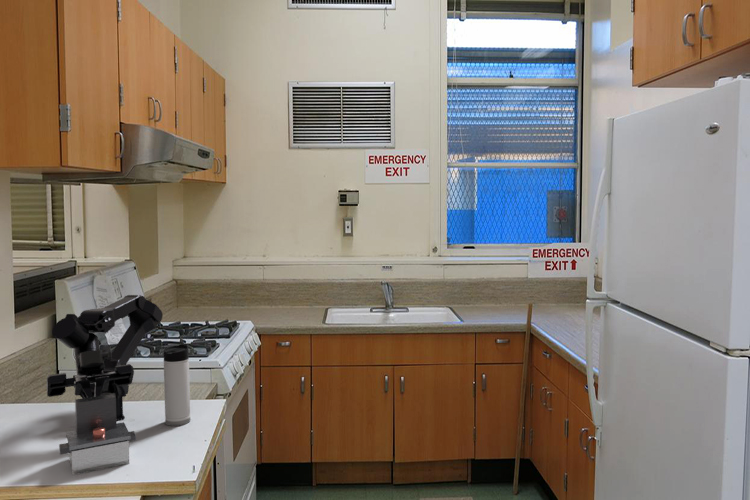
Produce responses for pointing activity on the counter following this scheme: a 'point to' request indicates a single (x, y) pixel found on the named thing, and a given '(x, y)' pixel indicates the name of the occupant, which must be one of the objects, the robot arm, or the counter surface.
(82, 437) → the lid
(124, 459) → the grey box with handles
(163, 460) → the counter surface
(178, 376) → the travel mug
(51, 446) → the counter surface
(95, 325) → the robot arm
